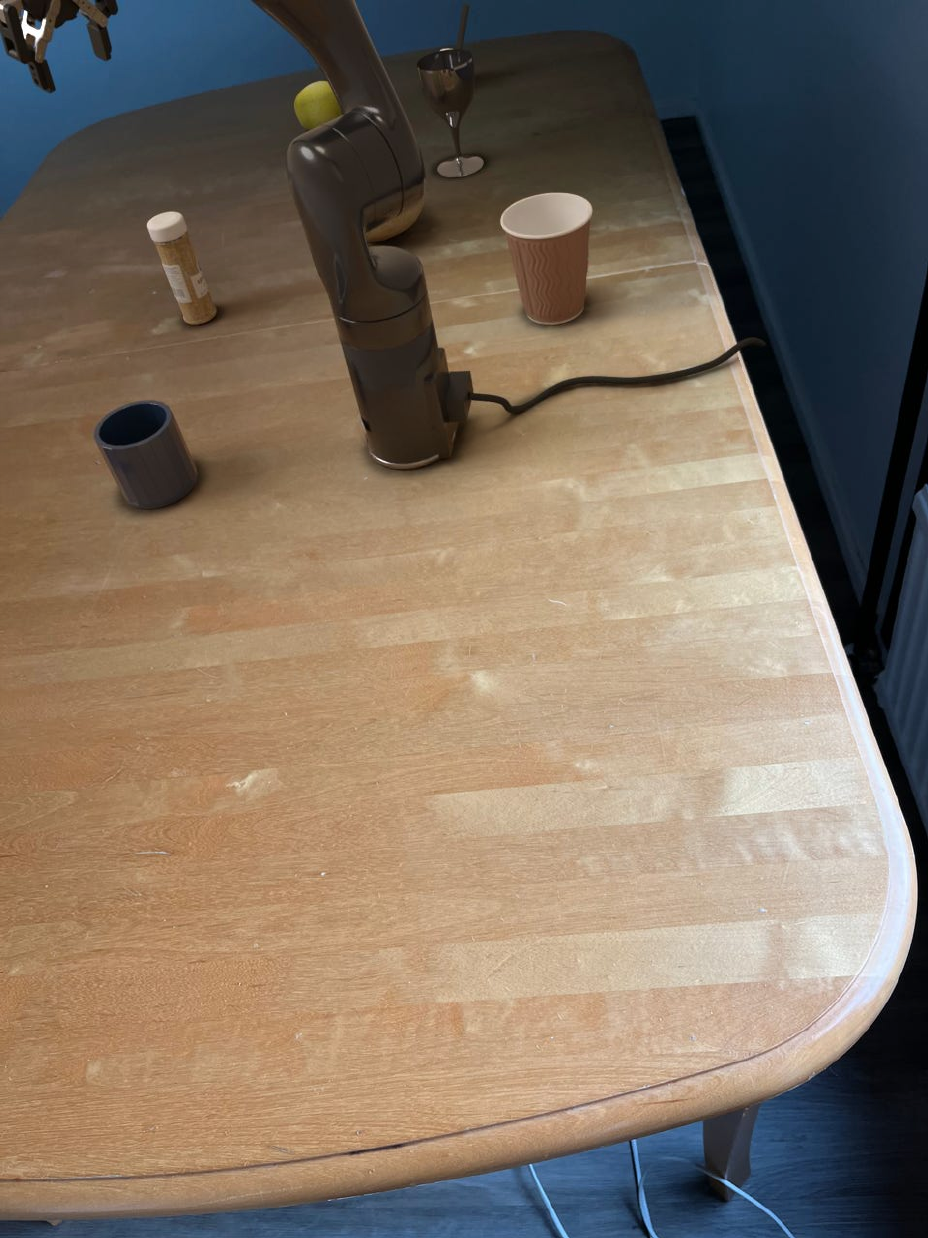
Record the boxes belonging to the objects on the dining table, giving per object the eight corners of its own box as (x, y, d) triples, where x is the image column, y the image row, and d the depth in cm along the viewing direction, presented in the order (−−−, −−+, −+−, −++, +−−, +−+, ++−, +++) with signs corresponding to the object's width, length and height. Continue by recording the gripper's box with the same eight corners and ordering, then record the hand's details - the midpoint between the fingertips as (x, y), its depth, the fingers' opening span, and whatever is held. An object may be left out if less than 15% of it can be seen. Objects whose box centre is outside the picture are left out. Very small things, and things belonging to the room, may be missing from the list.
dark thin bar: (428, 101, 174) (415, 23, 165) (424, 88, 178) (411, 11, 169) (482, 89, 173) (472, 11, 165) (477, 76, 178) (467, 0, 169)
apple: (353, 138, 167) (342, 87, 161) (299, 146, 168) (286, 96, 162) (357, 119, 172) (346, 69, 167) (305, 127, 174) (292, 77, 168)
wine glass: (496, 157, 154) (483, 50, 143) (468, 180, 150) (452, 72, 139) (452, 152, 158) (436, 47, 147) (424, 175, 154) (405, 68, 143)
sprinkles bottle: (223, 316, 133) (187, 217, 124) (191, 330, 132) (153, 231, 122) (209, 303, 136) (173, 206, 127) (178, 317, 135) (140, 219, 125)
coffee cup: (615, 300, 122) (611, 202, 113) (561, 342, 118) (552, 244, 109) (549, 279, 128) (540, 184, 119) (494, 318, 123) (481, 223, 114)
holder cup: (207, 459, 112) (182, 398, 106) (183, 508, 107) (155, 447, 101) (139, 460, 114) (111, 401, 108) (112, 509, 109) (81, 450, 103)
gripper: (1, -43, 101) (51, 113, 115) (108, -95, 107) (144, 58, 121) (-50, -67, 103) (6, 89, 117) (58, -117, 109) (99, 36, 123)
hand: (76, 73), depth 119 cm, fingers open, 8 cm apart
